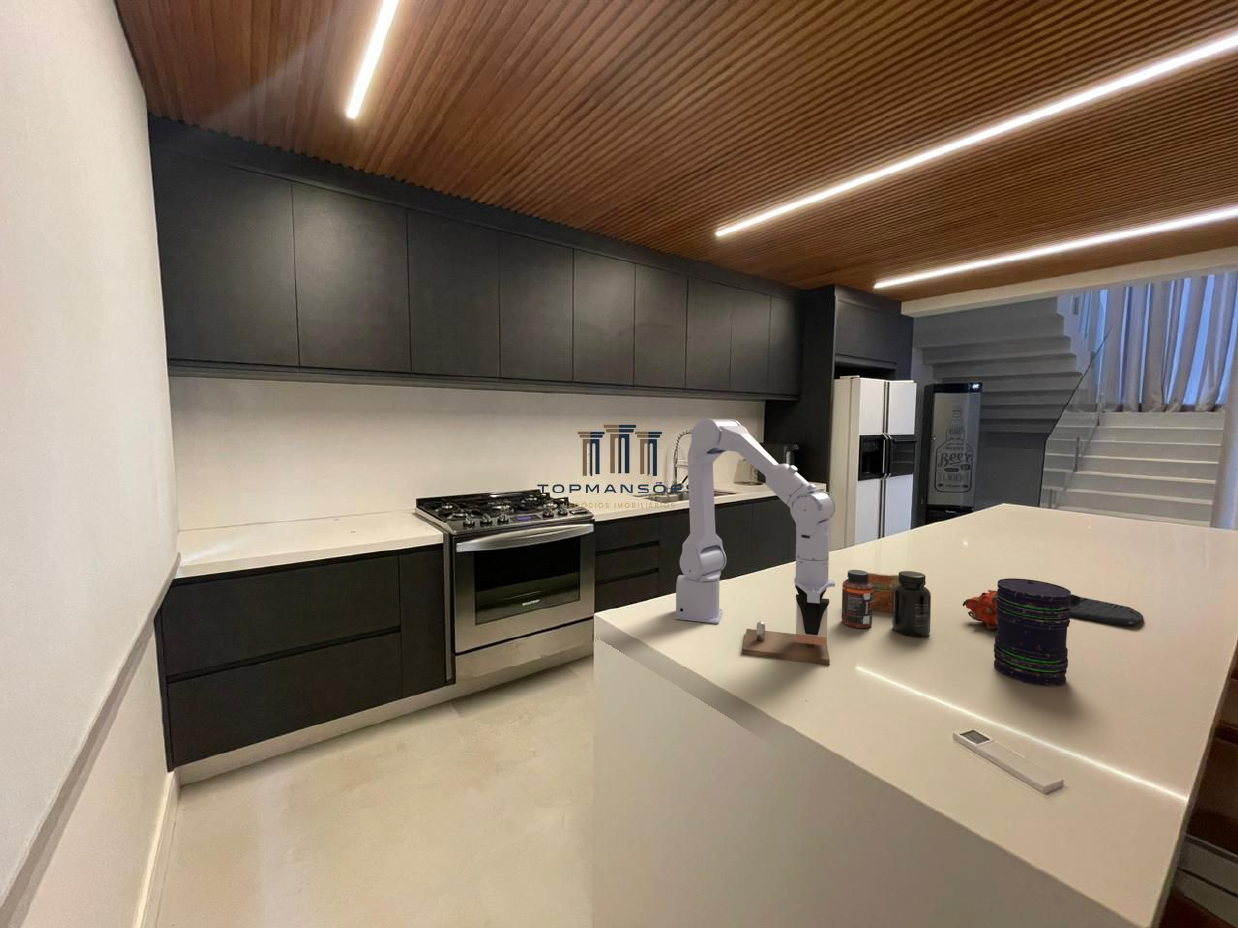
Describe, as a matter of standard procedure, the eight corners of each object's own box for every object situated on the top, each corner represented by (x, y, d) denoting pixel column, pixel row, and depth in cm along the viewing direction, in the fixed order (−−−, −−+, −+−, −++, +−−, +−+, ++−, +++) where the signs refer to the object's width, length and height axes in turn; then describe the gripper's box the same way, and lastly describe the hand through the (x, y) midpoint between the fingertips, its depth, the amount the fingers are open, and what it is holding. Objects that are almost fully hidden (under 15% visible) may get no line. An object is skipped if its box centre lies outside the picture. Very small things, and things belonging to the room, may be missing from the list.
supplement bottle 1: (875, 630, 106) (877, 576, 105) (844, 628, 107) (846, 575, 106) (867, 619, 112) (869, 568, 111) (838, 617, 113) (839, 567, 112)
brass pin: (805, 647, 96) (806, 628, 95) (805, 643, 97) (806, 625, 97) (815, 648, 95) (815, 629, 95) (814, 644, 97) (815, 626, 96)
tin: (848, 608, 119) (849, 572, 118) (847, 603, 122) (848, 569, 121) (922, 616, 113) (923, 579, 113) (920, 611, 116) (921, 575, 116)
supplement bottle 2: (927, 627, 107) (929, 571, 106) (932, 640, 101) (934, 580, 100) (890, 622, 110) (892, 567, 109) (892, 634, 104) (894, 576, 103)
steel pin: (756, 641, 98) (756, 622, 98) (756, 637, 100) (756, 619, 100) (764, 642, 98) (765, 623, 98) (765, 638, 99) (765, 620, 99)
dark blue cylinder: (1073, 693, 80) (1078, 600, 79) (995, 677, 86) (999, 590, 85) (1060, 667, 89) (1065, 583, 88) (990, 654, 94) (994, 575, 93)
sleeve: (796, 641, 94) (796, 604, 94) (795, 631, 99) (796, 595, 99) (826, 645, 93) (827, 607, 92) (824, 634, 98) (825, 598, 97)
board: (742, 654, 95) (742, 648, 95) (746, 633, 105) (746, 628, 105) (829, 664, 91) (829, 659, 90) (825, 642, 100) (825, 637, 100)
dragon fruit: (1033, 647, 101) (965, 636, 111) (1043, 614, 105) (976, 606, 115) (1019, 617, 98) (951, 608, 108) (1029, 585, 102) (962, 579, 112)
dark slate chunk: (1136, 635, 103) (1137, 612, 103) (1004, 606, 120) (1005, 586, 120) (1147, 618, 113) (1148, 596, 112) (1023, 593, 130) (1024, 574, 130)
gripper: (839, 568, 87) (837, 646, 88) (832, 549, 101) (830, 616, 102) (795, 565, 89) (794, 641, 90) (794, 546, 103) (792, 613, 104)
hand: (810, 628), depth 96 cm, fingers closed on sleeve, 5 cm apart
